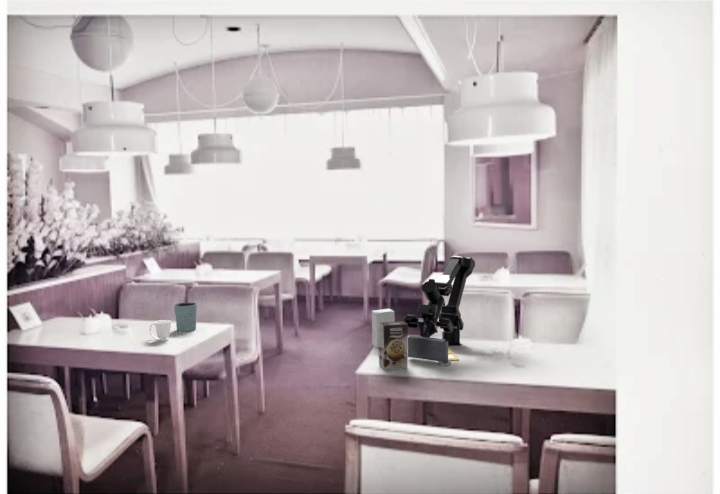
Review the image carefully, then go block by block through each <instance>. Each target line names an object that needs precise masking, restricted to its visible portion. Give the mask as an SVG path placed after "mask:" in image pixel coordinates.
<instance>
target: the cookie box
mask: <svg viewBox="0 0 720 494" xmlns="http://www.w3.org/2000/svg"><path fill="white" fill-rule="evenodd" d="M408 328H409V327H408V324H406V323H405V321H403V320H400V321H398V320H397V321H395V322H379V348H378V365H379V367H380V368H381V369H382V370H384V371H387V370H386V369H388V370H398V369H408V368H409V367H408V361H409V360H408V358H409V357H408V337H409V335H408V332H409V329H408Z"/></svg>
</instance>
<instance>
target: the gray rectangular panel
mask: <svg viewBox="0 0 720 494" xmlns="http://www.w3.org/2000/svg"><path fill="white" fill-rule="evenodd" d="M448 348H449V345H448V341H446V340H445V339H442V338H437V337H431V336H430V337H423V336H420V335H414V334H410V335H408V358H413V359H420V360H426V361H427V360H428V361H433V362H438V361H439V362H448Z"/></svg>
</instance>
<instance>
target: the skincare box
mask: <svg viewBox="0 0 720 494" xmlns="http://www.w3.org/2000/svg"><path fill="white" fill-rule="evenodd" d="M395 314H396V311H394V310H393V309H391V308H382V309H376V310H371V333H372V334H371V335H372V336H371V337H372V341H371V343H372V346H373V347H375V348H377V349H379V322H396V321H395V320H396V319H395V318H396V317H395V316H396V315H395Z"/></svg>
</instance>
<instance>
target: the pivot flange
mask: <svg viewBox="0 0 720 494" xmlns="http://www.w3.org/2000/svg"><path fill="white" fill-rule="evenodd" d="M437 365H438V366H440V367H449V366H452V361H448V362H439V361H437Z"/></svg>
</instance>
